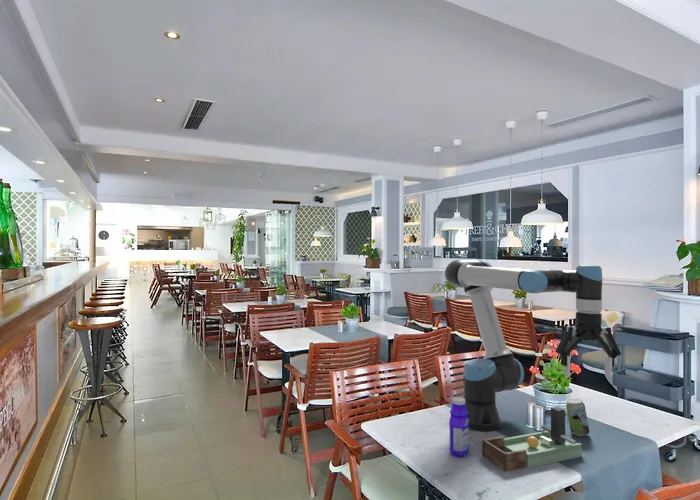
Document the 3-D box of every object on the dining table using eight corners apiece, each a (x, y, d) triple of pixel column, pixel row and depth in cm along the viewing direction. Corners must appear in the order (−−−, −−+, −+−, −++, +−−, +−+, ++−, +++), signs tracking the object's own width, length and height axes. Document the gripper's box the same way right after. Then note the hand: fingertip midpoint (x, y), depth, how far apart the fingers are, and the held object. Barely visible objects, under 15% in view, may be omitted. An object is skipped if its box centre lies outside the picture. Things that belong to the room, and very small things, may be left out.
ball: (525, 448, 137) (525, 437, 137) (528, 444, 140) (528, 433, 140) (536, 451, 135) (536, 439, 135) (540, 447, 137) (540, 436, 137)
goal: (502, 451, 139) (502, 436, 140) (526, 467, 129) (526, 450, 129) (482, 455, 137) (482, 439, 137) (505, 471, 127) (505, 454, 127)
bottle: (464, 459, 134) (464, 403, 134) (446, 455, 137) (446, 400, 137) (471, 450, 140) (471, 397, 140) (454, 446, 143) (454, 394, 143)
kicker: (546, 433, 147) (546, 402, 148) (578, 449, 135) (578, 414, 135) (529, 436, 145) (529, 404, 145) (560, 453, 133) (560, 417, 133)
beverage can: (592, 438, 150) (591, 404, 150) (569, 437, 151) (569, 402, 151) (586, 431, 156) (585, 398, 156) (564, 430, 157) (563, 397, 158)
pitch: (552, 441, 148) (551, 429, 148) (581, 456, 136) (581, 444, 136) (500, 451, 140) (500, 438, 140) (528, 467, 129) (528, 454, 129)
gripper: (619, 310, 146) (618, 373, 146) (545, 309, 146) (544, 372, 146) (633, 314, 138) (632, 380, 138) (555, 312, 139) (554, 378, 139)
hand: (587, 376), depth 142 cm, fingers open, 13 cm apart
